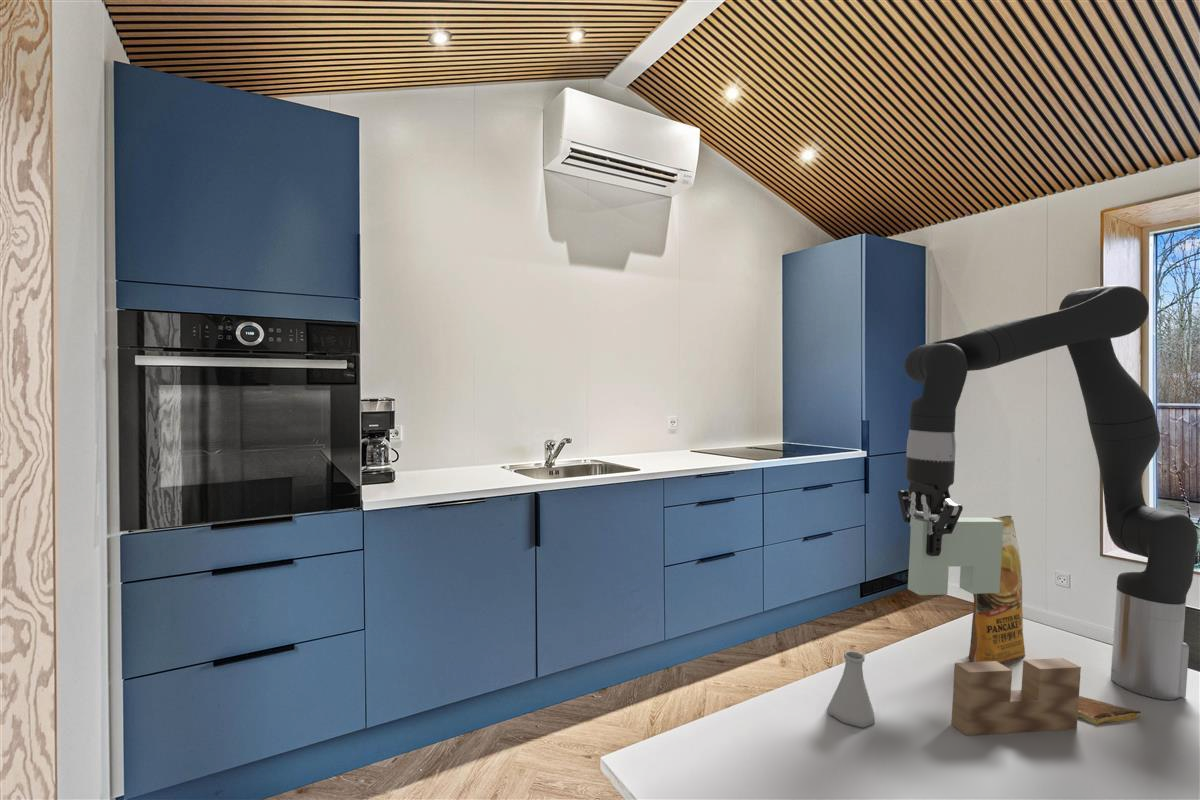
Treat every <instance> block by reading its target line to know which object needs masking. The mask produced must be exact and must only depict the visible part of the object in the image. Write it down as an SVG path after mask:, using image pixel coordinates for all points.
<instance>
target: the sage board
mask: <svg viewBox="0 0 1200 800" xmlns="http://www.w3.org/2000/svg"><path fill="white" fill-rule="evenodd" d="M993 518H994V517H959V519H958V521H957V523H956V525H955V528H954V530H953V532H952V534H944V535H942V544H941V553H940V555H939V556H929V555H927V554H926V546H927V534H928V532H927V522H926V521H925V520H924V518H920V517H919V518H911V527H910V535H909V536H910V539H909V557H908V559H909V560H908V576H907V590H909V591H910V592H913V593H914V594H917V595H919V596H930V595H931V596H934V595H935V596H936V595H938V596H939V595H943V596H944V595H948V591H949V590H948V588H949V570H950V567H960V570H959V571H960V572H959V573H960V574H959V589H961V590H964V591H965V592H968V593H970V594H972V595H973V594H982V593H1000V575H1001V557H1002V539H1003V521H1000V520H996V519H993ZM936 525H937V522H936V521H934V527H936ZM946 525H947V524H946ZM946 525H945V527H946Z"/></svg>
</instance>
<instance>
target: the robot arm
mask: <svg viewBox="0 0 1200 800" xmlns="http://www.w3.org/2000/svg"><path fill="white" fill-rule="evenodd" d="M1148 302H1149V301H1148V299H1147V297H1146V295H1145V294H1144V293H1143V292H1142V291H1141V290H1140V289H1138V288H1136V287H1134V286H1130V285H1124V284H1113V285H1112V284H1111V285H1105V286H1098V287H1089V288H1082V289H1077V290H1073V291H1071V292H1070V293H1068V294H1067V295H1065V297H1064V298H1063V299H1062V300H1061V302H1060V303H1059V307H1058V310H1056V311H1052V312H1047V313H1044V314H1039V315H1038V314H1037V315H1034V316H1028V317H1023V318H1018V319H1014V320H1009V321H1004V322H1001V323H997V324H993V325H990V326H987V327H983V328H980V329H977V330H975V331H974V330H973V331H971V332H969V333H967V334H963V335H960V336H957V337H951V338H946V339H942V340H937V341H933V342H930V343H929V342H928V343H926V344H922V345H919V346H917V347H915V348H913V350H911V351H910V352H909V353H908V355H907V356H906V358H905V361H904V371H905V373H906V374H907V376H908V377H909V378H910V379H911V380H912V381H915V382H917V383H920V384H924V385H923V388H922V389H923V390H922V393H921V395H920V396H919V397H917V398H915V399H914V400H913V401H912V402H911V403H910V404H911V405H910V409H909V410H910V412H909V414H910V415H909V428H908V429H909V431H908V437H907V441H906V442H907V443H906V458H905V478H904V479H906V481H908V482H909V486H908V488H907V489H905V490H898V491H897V498H898V500H899V501H898V502H899V506H900V509H901V510H900V511H901V515H902V518H903V519H902V520H903V521H904V523H908V524H909V527H910V528H911V518H924V520H925V521H926V522H927V532H928V534H927V546H926V554H927V555H929V556H939V555H940V553H941V544H942V535H944V534H952V532H953V530H954V528H955V525H956V523H957V521H958V519H959V518H960V516H961V514H962V512H963V510H964V509H963V505H962V504H961V503H955V502H954V501H952V500H951V493H950V491H949V489H950V486H952V485H953V484H954V483H955V471H956V470H955V469H956V468H955V466H956V448H957V443H956V433H955V432H956V413H957V411H956V409H957V407H958V403H959V401H960V399H961V396H962V392H963V390H964V387H965V383H966V380H967V376H968V372H971V371H973V372H974V371H982V370H988V369H991V368H994V367H997V366H1001V365H1004V364H1008V363H1010V362H1013V361H1014V362H1015V361H1018V360H1020V359H1023V358H1027V357H1030V356H1034V355H1036V354H1040V353H1043V352H1046V351H1050V350H1052V349H1056V348H1060V347H1064V346H1066V347H1067V349H1068V353H1069V355H1070V357H1071V360H1072V362H1073V366H1074V368H1075V371H1076V375H1077V379H1078V383H1079V386H1080V390H1081V394H1082V398H1083V402H1084V406H1085V410H1086V416H1087V420H1088V421H1087V422H1088V425H1089V431H1090V434H1091V438H1092V442H1093V445H1094V448H1095V453H1096V457H1097V461H1098V467H1099V472H1100V477H1101V483H1102V490H1103V498H1104V508H1105V509H1104V510H1105V519H1106V525H1107V526H1106V527H1107V532H1108V534H1109V538H1110V539H1111V541H1112V542H1113V544H1114V545H1115V546H1116V547H1118V549H1120V550H1122V551H1125V552H1126V553H1129V554H1133V555H1138V556H1141V557H1144V558H1147V560H1146V561H1147V562H1146V566H1145V569H1144V570H1142V571H1128V572H1121V573H1119V574H1118V576H1117V579H1116V594H1115V607H1114V608H1115V609H1114V624H1113V626H1114V627H1113V637H1112V638H1113V640H1112V650H1111V651H1112V653H1111V654H1112V655H1111V667H1110V679H1111V680H1112V681H1113V682H1114V683H1115V684H1116V685H1118V686H1120V687H1121V688H1124V689H1126V690H1128V691H1131V692H1133V693H1136V694H1138V695H1141V696H1146V697H1149V698H1153V699H1158V700H1165V701H1166V700H1168V701H1170V700H1172V701H1173V700H1178V699H1179V698H1186V696H1187V680H1188V679H1187V678H1188V667H1189V654H1190V646H1189V644H1188V643H1186V642H1184V631H1185V620H1186V619H1185V617H1186V615H1185V614H1186V602H1187V595H1188V592H1189V591H1190V588H1191V586H1192V583H1193V580H1194V579H1193V578H1194V572H1195V564H1196V559H1197V552H1198V530H1197V526H1196V525H1195V523H1194V521H1193V519H1191V518H1190V517H1189V516H1187V515H1185V514H1182V513H1179V512H1176V511H1171V510H1166V509H1161V508H1157V507H1150V506H1148V505H1147V503H1146V501H1145V498H1144V493H1143V487H1142V480H1143V479H1142V478H1143V476H1144V475H1143V474H1144V472H1145V470H1146V469H1147V467H1148V465H1150V462H1151V461H1152V459H1153V458H1154V456H1155V454H1156V452H1157V450H1158V449H1159V445H1160V442H1161V434H1160V427H1159V423H1158V419H1157V415H1156V411H1155V408H1154V404H1153V402H1152V400H1151V399H1150V397H1149V395H1148V394H1147V392H1145V390H1144V389H1143V388H1142V387H1141V386H1140V384H1139V383H1137V381H1136V380H1135V379H1134V378H1133V377H1132V376H1131V375H1130V373H1129V372H1128V371H1127V370H1126V369H1125V368H1124V366H1122V364H1121V362H1120V361H1119V358H1118V357H1117V356H1116V352H1115V349H1114V347H1113V346H1114V345H1113V342H1112V339H1116V338H1120V337H1125V336H1127V335H1130V334H1132V333H1134V332H1136V331H1137V330H1138V329H1140V328H1141V327H1142V326H1143V324H1144V323H1145V322H1146V321H1147V318H1148V316H1149V311H1150V307H1149V306H1150V305H1149V303H1148ZM934 515H936V516H934ZM934 521H936V522H937V525H936V527H934ZM946 524H947V525H946ZM945 525H946V527H945Z"/></svg>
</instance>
